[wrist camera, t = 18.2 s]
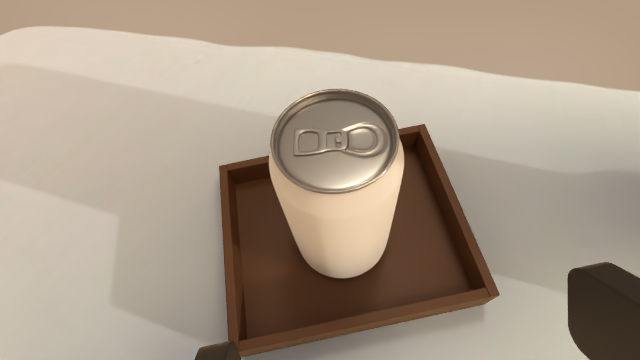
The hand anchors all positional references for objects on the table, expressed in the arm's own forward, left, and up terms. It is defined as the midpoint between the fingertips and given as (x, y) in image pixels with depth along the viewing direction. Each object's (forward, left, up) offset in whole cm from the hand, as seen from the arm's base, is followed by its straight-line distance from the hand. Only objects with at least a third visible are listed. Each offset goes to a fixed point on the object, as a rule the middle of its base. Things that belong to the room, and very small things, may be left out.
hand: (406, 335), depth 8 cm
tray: (0, -9, -16) cm, 18 cm away
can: (0, -8, -15) cm, 18 cm away
